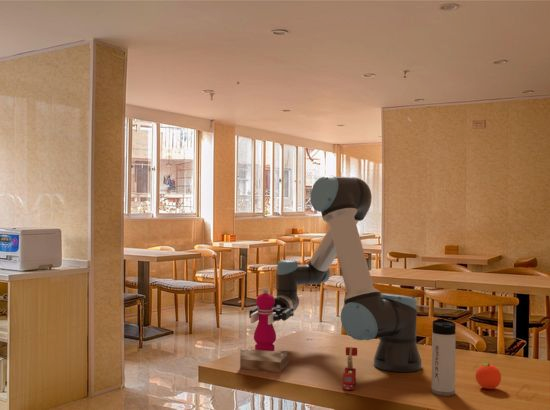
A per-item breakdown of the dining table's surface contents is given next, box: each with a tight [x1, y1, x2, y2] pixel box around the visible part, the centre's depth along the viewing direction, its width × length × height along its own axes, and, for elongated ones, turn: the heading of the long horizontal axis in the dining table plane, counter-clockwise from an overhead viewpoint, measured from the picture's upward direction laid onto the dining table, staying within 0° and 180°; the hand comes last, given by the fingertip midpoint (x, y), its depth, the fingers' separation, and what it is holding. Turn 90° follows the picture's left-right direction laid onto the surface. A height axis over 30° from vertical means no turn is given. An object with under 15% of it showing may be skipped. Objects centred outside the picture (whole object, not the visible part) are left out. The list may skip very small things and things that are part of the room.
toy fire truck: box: [342, 346, 358, 391], centre depth 171 cm, size 3×14×10 cm, turn 168°
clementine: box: [473, 363, 502, 390], centre depth 168 cm, size 8×7×7 cm
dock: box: [239, 347, 290, 373], centre depth 189 cm, size 13×11×6 cm
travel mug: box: [431, 318, 457, 397], centre depth 164 cm, size 6×7×20 cm
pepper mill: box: [253, 288, 277, 351], centre depth 189 cm, size 7×7×20 cm
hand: (260, 319), depth 184 cm, fingers closed on pepper mill, 5 cm apart
